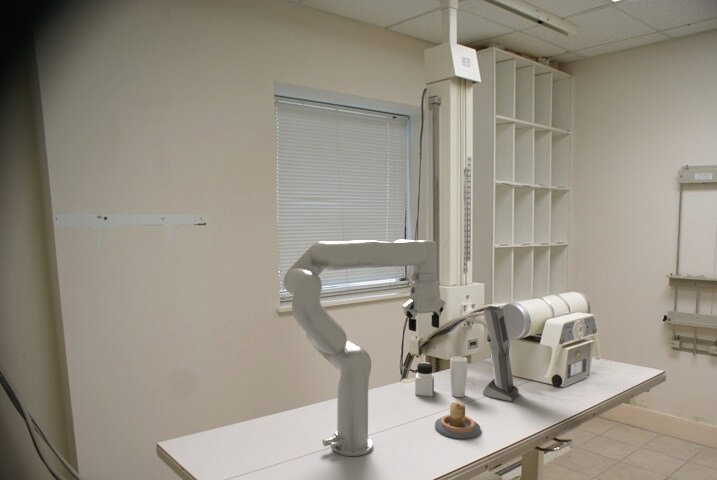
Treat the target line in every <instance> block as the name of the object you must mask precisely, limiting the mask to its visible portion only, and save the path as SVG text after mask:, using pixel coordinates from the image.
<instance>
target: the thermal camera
mask: <svg viewBox="0 0 717 480" xmlns="http://www.w3.org/2000/svg"><path fill="white" fill-rule="evenodd" d="M483 316H484V321H485V326H486V332H487V336H486V344H488V345H489V346H490V355H491V363H492V370H493V376H494V378H493V379H492V380H491V381H490V382H489V383H488V384H487V385H486V386H485V387H484V389H483V391H482V395H483V396H485V397H488V398H491V399H497V400H502V401H506V402H512V403H513V402H514V400H515V399H516V398H517V396H518V395H519V389H518V387H517V386H515V385H514V379H513V373H512V372H513V371H512V365H511V358H510V353H509V351H510V347H511V346H510V344H511V343H510V337H509V333H508V328H507V323H506V318H505V313H504V310H503V308H501V307H499V306H493V305H489V306H487V307H486V308H483Z"/></svg>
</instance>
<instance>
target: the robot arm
mask: <svg viewBox="0 0 717 480" xmlns="http://www.w3.org/2000/svg"><path fill="white" fill-rule="evenodd" d="M437 245H438V244H437V242H436V241H434V240H431V239H430V240H427V239H426V240H425V239H420V240H413V239H412V240H411V239H397V240H395V241H391V242H390V241H379V240H373V239H372V240H370V239H369V240H368V239H366V240H365V239H364V240H363V239H362V240H349V241H348V240H346V241H345V240H344V241H343V240H342V241H327V240H325V241H324V240H321V241H319V240H318V241H317V242H315V243H314V244H312V245H311V246H310V247H309V248H308V249H307V250H306V251H305V252H304V253H303V254H302V255H301V256H300V257H299V259H297V261H295V262H294V263H293V264H292V265H291V267H289V268H288V269H287V271H286V272H285V274H284V277H283V287H284V289H285V290H286V291H287V292H288V293H289V295H292V301H291V310H292V311H291V312H292V316H293V319H294V320H295V321H296V323H297V324H298V326H299V327H301V329H302V330H303V331H304V332H305V334H306V338H307V340H308V342H309V344H310V345H311V346H312V347H313V348H314V349H315V350H316V352H318V353H319V354H320V355H321V356H322V357H323V358H324V359H325V360H326V361H327V362H328V363H329V364H330V365H331V366H332V367H334V368H335V369H337V370H338V371H339V372H340V376H339V380H338V384H337V392H336V394H337V396H336V397H337V410H336V411H337V412H336V413H337V419H336V420H337V421H336V426H337V427H336V428H337V430H336V431H334V432H333V435H332V436H331V437H330V438H329V437H327V438H324V439H322V444H323V446H324V447H327V446H330V448H332V450H333V451H334V452H336V453H337V454H339V455H342V456H345V457H359V456H364V455H366V454H368V453H369V452H371V450H372V449H373V448H374V447H373V446H374V442H373V440H372V439H371V438H370V437H369V384H370V383H369V382H370V375H371V371H372V359H371V356H370V354H369V353H368V352H367V350H366V349H365V348H363V347H362V346H361V345H358V344H356V343H354V342H353V341H351V340H350V339H349V338H348V336H347V334H346V332H345V330H344V328H343V327H342V325H340V324H339V323H338V322H337V321H336V320H335V319H334V318H333V317H332V316H331V315H330V314H329V313H328V312H327V311H326V309H325V308H324V307H323V305H322V303H321V293H322V289H323V283H322V280H321V278H320V275H321V273H323V271H324V270H327V271H342V270H353V269H355V270H356V269H370V268H371V269H373V268H375V269H376V268H378V269H379V268H389V267H390V268H391V267H395V268H397V267H411V266H413V272H412V273H413V274H411V276H410V278H411V279H412V280H413V281H412V282H411V285H410V291H409V300H408V301H407V302H406V303H404V304H403V305H402V307H401V308H402V310H403V312H404V315H405V316H406V318H407V319H408V330H409V331H411V332H417V319H416V317H417V316H418V314H428V313H429V314H430V313H432V315H431V327H432V328H435V329H439V328H440V317H441V315H442V312H443V311H444V308H445V305H446V301H444V300H442V299H441V291H440V290H441V289H440V284H439V281H437V263H438V261H437V260H438V259H437V257H438V256H437V255H438V254H437V253H438V251H437V250H438V246H437Z"/></svg>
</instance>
